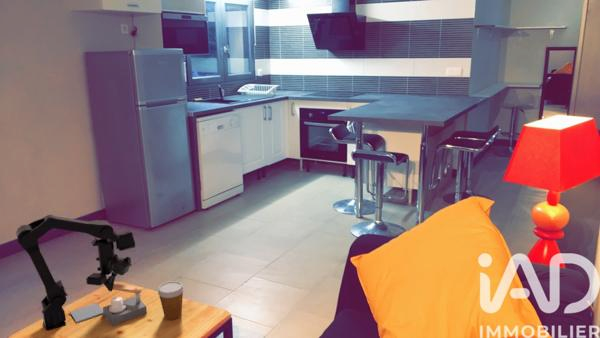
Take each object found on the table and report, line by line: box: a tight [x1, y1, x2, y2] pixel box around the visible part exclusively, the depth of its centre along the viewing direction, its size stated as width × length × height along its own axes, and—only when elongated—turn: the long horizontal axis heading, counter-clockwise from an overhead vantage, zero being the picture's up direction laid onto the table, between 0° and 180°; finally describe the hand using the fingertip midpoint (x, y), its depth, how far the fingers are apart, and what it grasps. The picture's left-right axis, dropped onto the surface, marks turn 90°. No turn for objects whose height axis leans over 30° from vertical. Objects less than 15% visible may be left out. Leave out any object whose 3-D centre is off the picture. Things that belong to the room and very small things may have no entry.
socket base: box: [102, 292, 148, 326], centre depth 177 cm, size 13×10×7 cm
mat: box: [69, 302, 104, 324], centre depth 178 cm, size 10×9×1 cm
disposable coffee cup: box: [157, 280, 185, 321], centre depth 175 cm, size 10×10×12 cm
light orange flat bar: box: [112, 283, 142, 295], centre depth 181 cm, size 14×3×1 cm, turn 73°
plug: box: [109, 296, 126, 314], centre depth 175 cm, size 6×6×7 cm
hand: (110, 291), depth 181 cm, fingers closed
